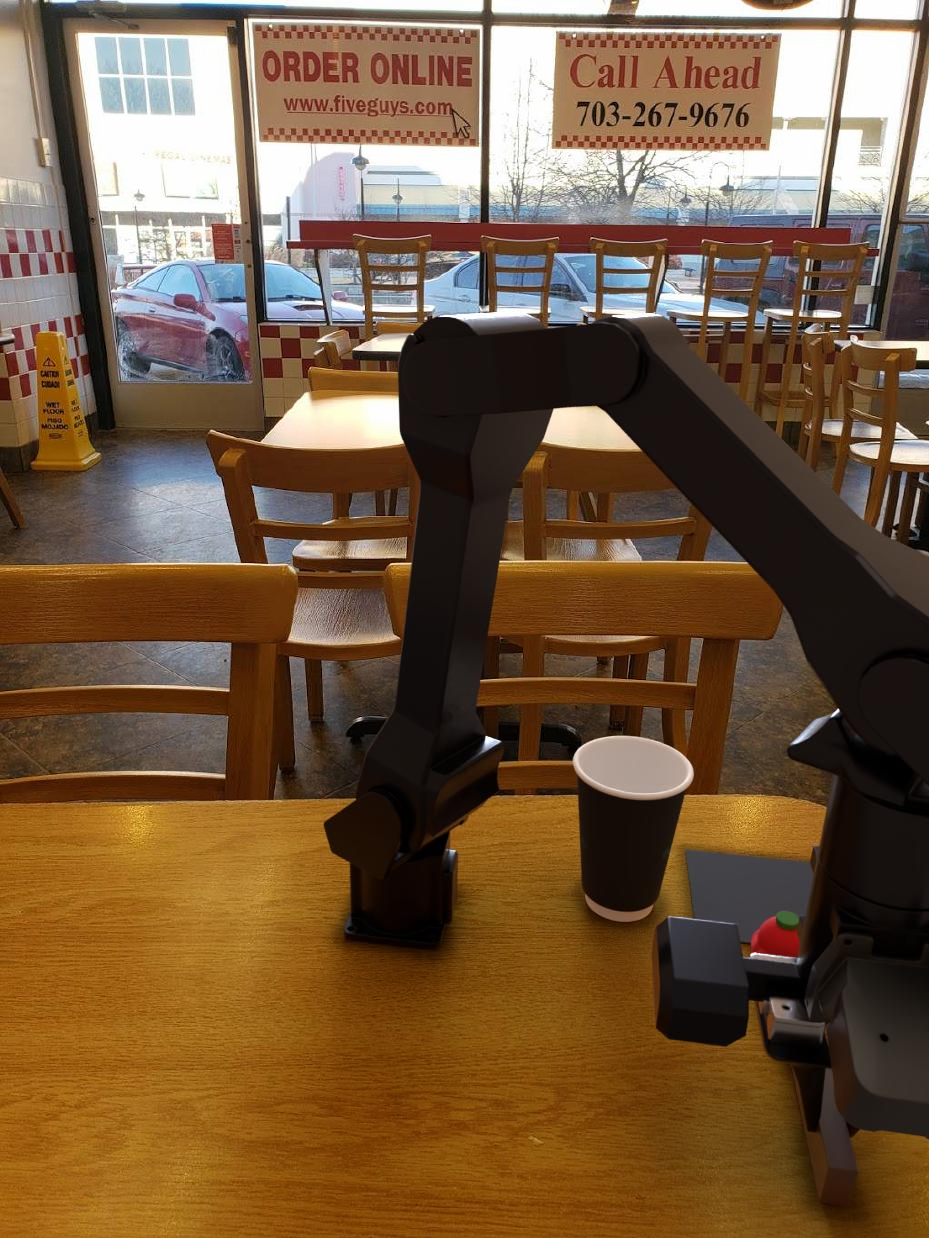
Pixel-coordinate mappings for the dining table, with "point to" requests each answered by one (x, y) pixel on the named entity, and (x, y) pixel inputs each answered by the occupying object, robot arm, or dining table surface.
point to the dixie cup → (627, 821)
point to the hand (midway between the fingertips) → (826, 1127)
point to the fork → (831, 1150)
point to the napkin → (746, 888)
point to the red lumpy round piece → (777, 936)
